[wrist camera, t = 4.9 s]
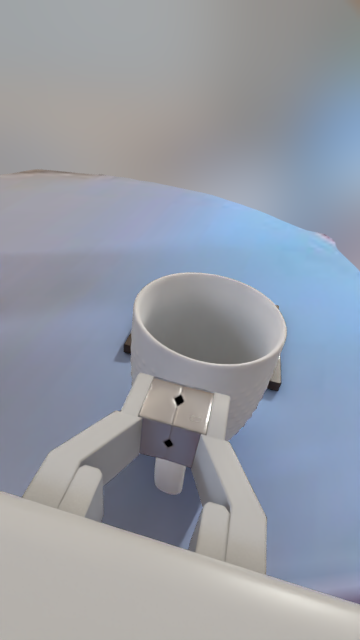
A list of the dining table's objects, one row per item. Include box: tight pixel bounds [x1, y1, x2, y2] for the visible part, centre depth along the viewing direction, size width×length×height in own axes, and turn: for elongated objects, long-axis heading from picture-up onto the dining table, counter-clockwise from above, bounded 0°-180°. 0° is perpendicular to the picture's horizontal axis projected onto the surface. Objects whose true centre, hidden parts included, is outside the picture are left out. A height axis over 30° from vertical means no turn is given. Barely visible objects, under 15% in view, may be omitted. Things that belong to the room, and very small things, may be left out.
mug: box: [130, 273, 287, 495], centre depth 26 cm, size 15×11×13 cm
